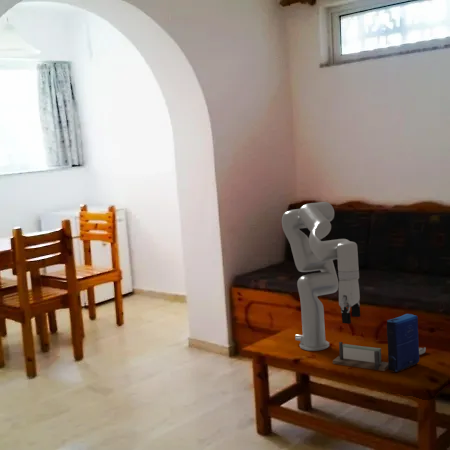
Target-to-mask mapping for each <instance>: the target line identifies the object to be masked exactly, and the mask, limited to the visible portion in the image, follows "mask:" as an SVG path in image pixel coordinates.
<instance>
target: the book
mask: <svg viewBox="0 0 450 450" xmlns="http://www.w3.org/2000/svg"><path fill="white" fill-rule="evenodd" d="M386 337H387V339H386V340H387V357H388V358H387V360H388V361H387V362H388V368H387V370H388V371H390V372H392V373H397V372H401V371H403V370H407V369H409V368H411V367H412V366H416V365H417V364H418V363H420V355H419V348H420V346H419V344H420V343H419V341H420V340H419V318H418V315H414V314H412V313H405V314H403V315H401V316H398V317H395V318H394V317H393V318H390V319H387V320H386Z"/></svg>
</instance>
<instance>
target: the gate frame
mask: <svg viewBox="0 0 450 450" xmlns="http://www.w3.org/2000/svg"><path fill="white" fill-rule="evenodd" d="M343 344H344V343H343V342H342V341H339V342H338V347H339V348H338V350H339V355H338V356H337V357H336V358H334V359H332V364H334V365H340V366H348V367H355V368H362V369H369V370H374V371H383V372H386V371H387V370H388V361H381V363H380V361H379V351H374V358H375V363H374V362H367V361H359V360H352V359H345V358H343Z"/></svg>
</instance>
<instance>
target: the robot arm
mask: <svg viewBox="0 0 450 450" xmlns="http://www.w3.org/2000/svg"><path fill="white" fill-rule="evenodd" d="M334 219H335V210H334V207H333V205H332V204H331V203H329V202H327V201H319V202H311V203H306V204H303V205H302V206H301V207H300V208H296V209H295V208H294V209H290V210H288V211H287V210H286V211H285V212H284V213H283V215H282V217H281V226H282V231H283V233H284V235H285V237H286V239H287V240H288V243H289V244H290V245H289V246H290V248H291V253H292V256H293V261H294V264H295V265H294V266H295V267H296V269H297V271H298V272H301V273H307V274H305V275H302V276H300V277H299V278H298V280H297V283H296V285H297V291H298V295H299V298H300V310H301V312H300V313H301V314H300V315H301V326H302V327H301V329H302V331H301V332H302V334H295V336H294V338H295V341H298V342H300V343H299V347H300V349H302V350H304V351H309V352H315V351H317V352H319V351H323V350H326V349H328V348H330V341H327V340H326V330H325V328H326V327H325V324H326V323H325V310H324V304H323V302H322V301H321V300H320V299H319V298H318V297H319V296H325V295H330V294H334V293H337V291H338V306H339V307H340V313H341V322H342V324H349V325H350V324H351V323H352V317H353V318H354V317H356V318H360V317H361V303H360V301H361V299H360V298H361V296H360V295H361V293H360V284H359V279H360V270H359V254H358V244H357V243H356V242H355V241H350V240H349V239H346V238H338V239H331V240H330V239H329V240H322V239H324V238H326V236H328V235H329V234H330V232H331V230H332V224H331V222H332V221H333V220H334ZM300 229H308V231H309V232H310V233H309V236H308V235H307V234H305V232H303V231H302V230H300ZM335 260H337V270H338V271H336V268H335V264H334V261H335ZM317 271H320V272H317ZM308 272H309V273H308ZM310 272H314V273H310ZM337 272H338V273H337ZM337 274H338V275H337ZM350 311H351V312H350Z"/></svg>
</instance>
